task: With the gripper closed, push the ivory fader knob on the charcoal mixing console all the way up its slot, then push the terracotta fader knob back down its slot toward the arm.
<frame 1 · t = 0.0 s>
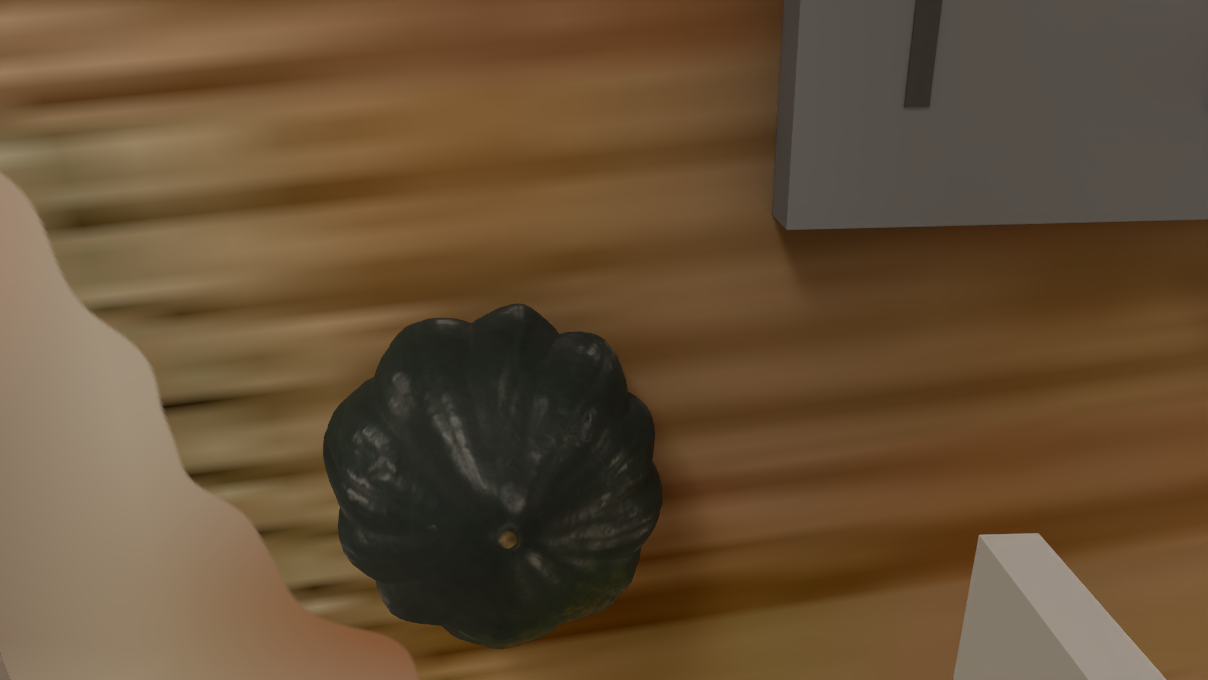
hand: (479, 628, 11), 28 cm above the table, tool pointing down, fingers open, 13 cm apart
squash: (509, 411, 41), on the table
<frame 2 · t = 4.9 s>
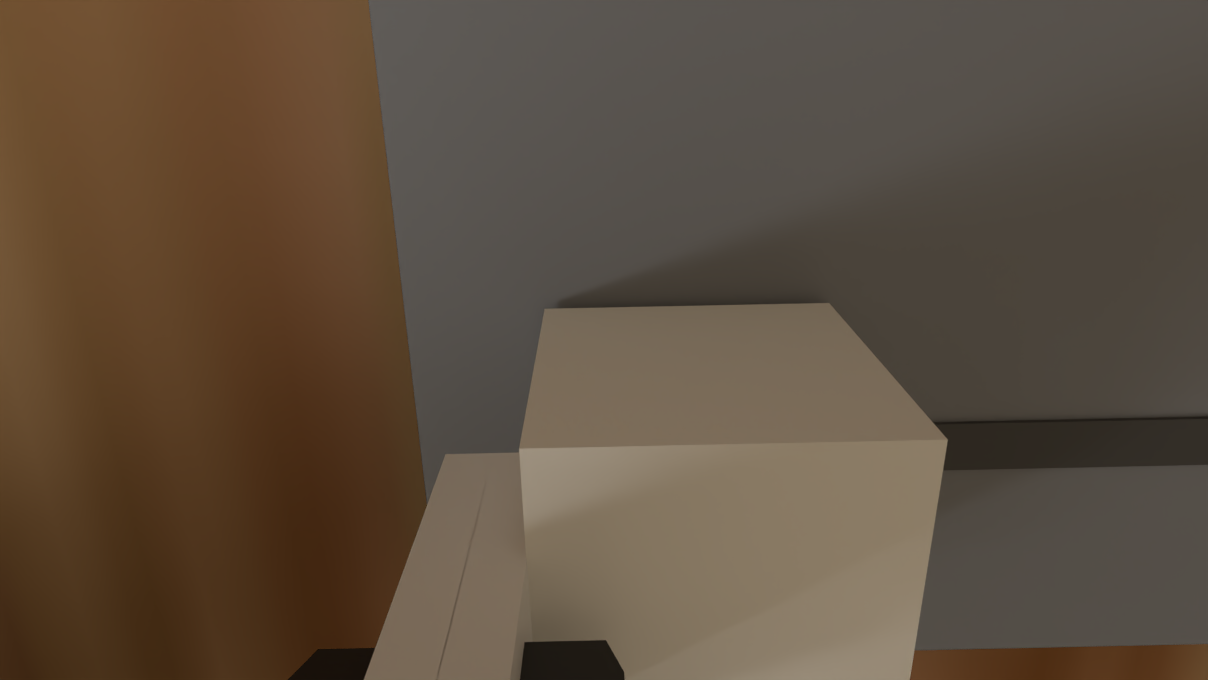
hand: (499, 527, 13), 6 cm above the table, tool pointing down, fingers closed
console: (1081, 50, 15), on the table
ivory fader: (700, 533, 13), point 6 cm above the table, slide at 0.0 cm, touching gripper
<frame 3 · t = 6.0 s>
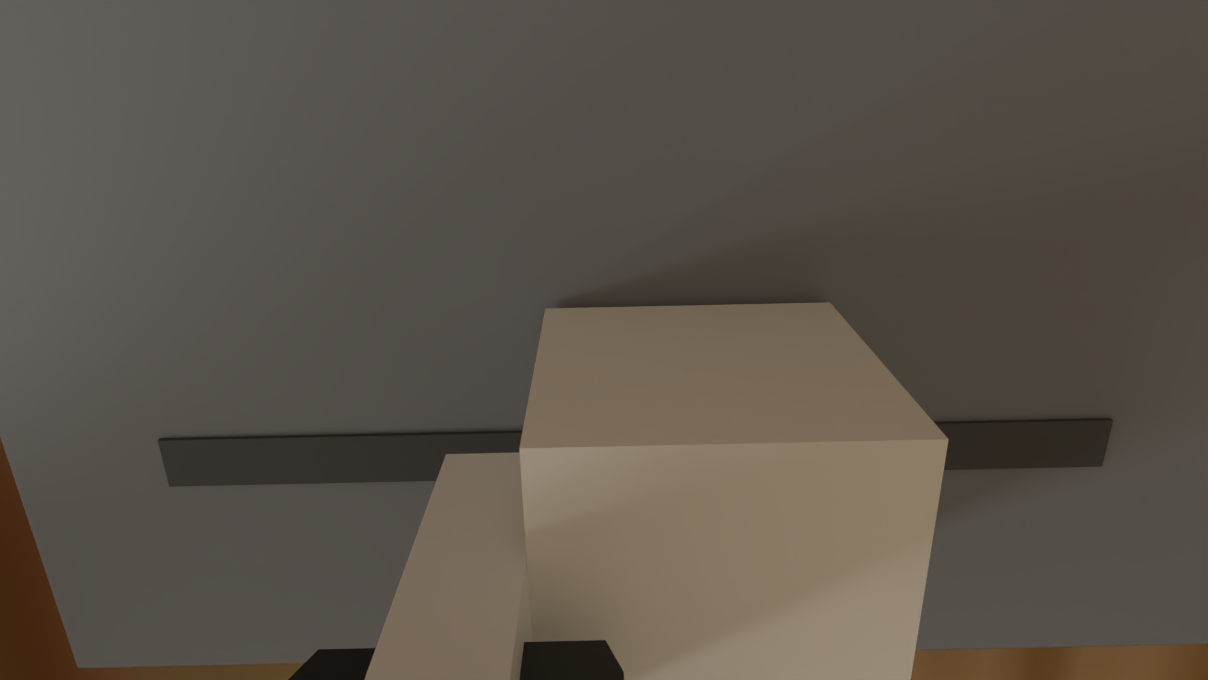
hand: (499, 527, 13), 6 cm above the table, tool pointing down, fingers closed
console: (678, 58, 15), on the table
ivory fader: (700, 533, 13), point 6 cm above the table, slide at 7.9 cm, touching gripper
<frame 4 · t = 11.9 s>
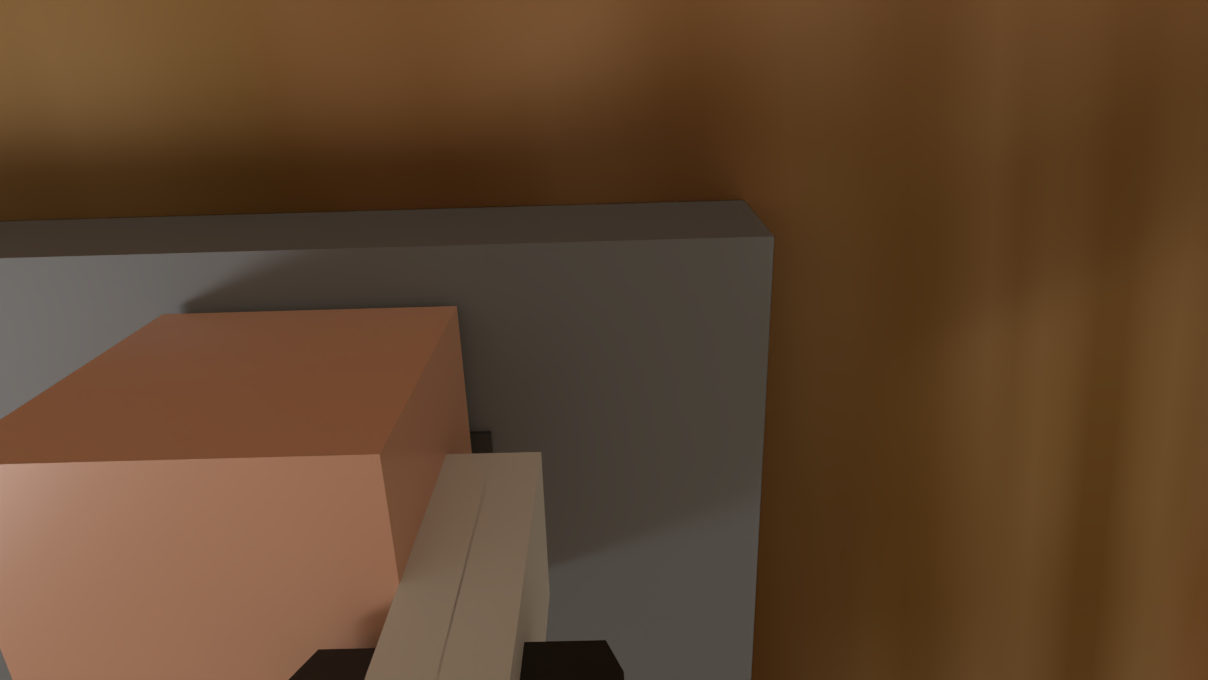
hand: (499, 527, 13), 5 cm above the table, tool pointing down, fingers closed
console: (224, 675, 20), on the table
terracotta fader: (285, 547, 12), point 6 cm above the table, slide at 13.1 cm, touching gripper
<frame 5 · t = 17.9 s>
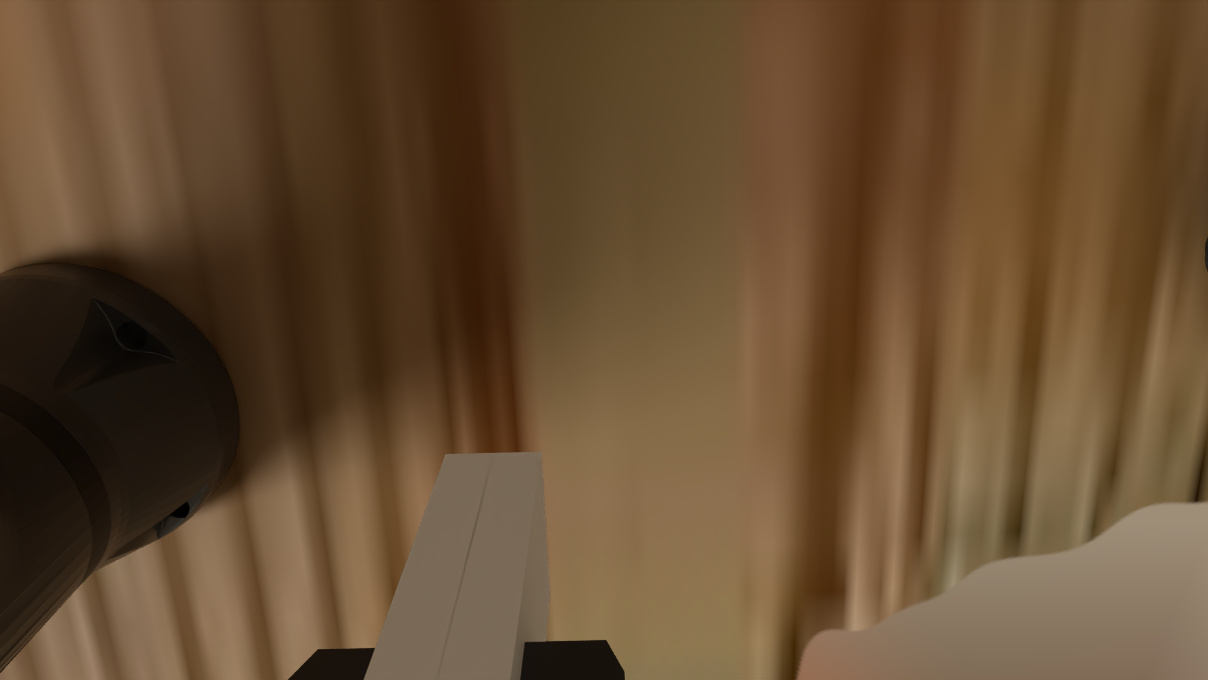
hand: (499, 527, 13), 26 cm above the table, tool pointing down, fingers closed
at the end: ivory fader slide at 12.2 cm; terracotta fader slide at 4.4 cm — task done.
